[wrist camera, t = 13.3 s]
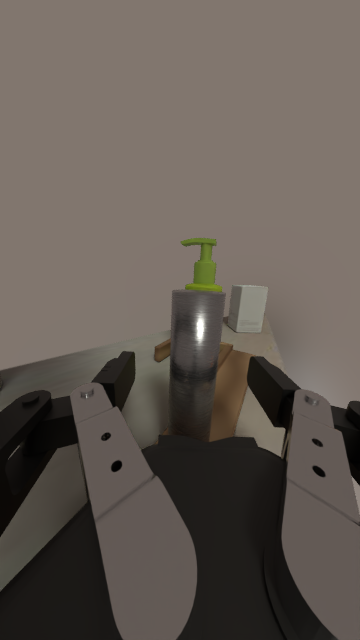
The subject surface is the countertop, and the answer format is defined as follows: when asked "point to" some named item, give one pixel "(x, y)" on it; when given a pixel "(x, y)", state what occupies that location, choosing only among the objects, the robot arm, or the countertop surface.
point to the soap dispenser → (203, 266)
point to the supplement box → (247, 308)
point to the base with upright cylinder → (202, 369)
